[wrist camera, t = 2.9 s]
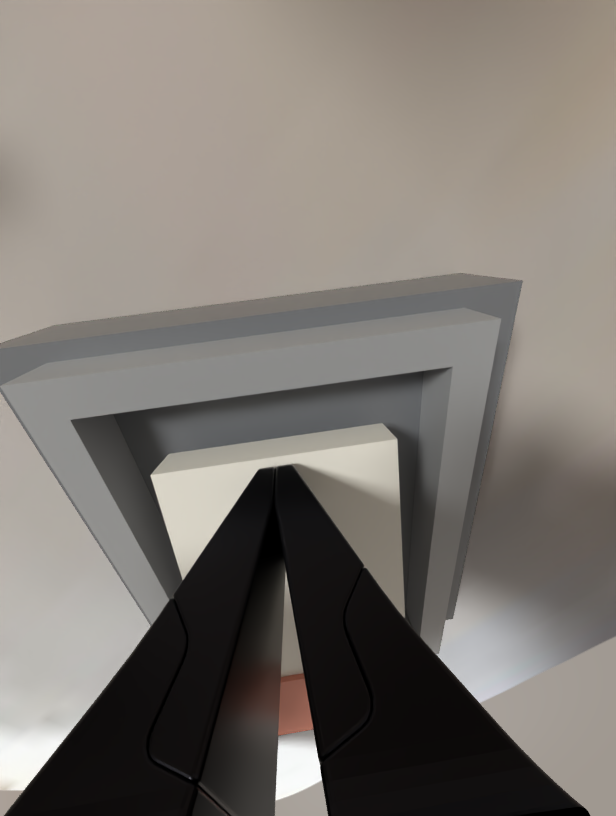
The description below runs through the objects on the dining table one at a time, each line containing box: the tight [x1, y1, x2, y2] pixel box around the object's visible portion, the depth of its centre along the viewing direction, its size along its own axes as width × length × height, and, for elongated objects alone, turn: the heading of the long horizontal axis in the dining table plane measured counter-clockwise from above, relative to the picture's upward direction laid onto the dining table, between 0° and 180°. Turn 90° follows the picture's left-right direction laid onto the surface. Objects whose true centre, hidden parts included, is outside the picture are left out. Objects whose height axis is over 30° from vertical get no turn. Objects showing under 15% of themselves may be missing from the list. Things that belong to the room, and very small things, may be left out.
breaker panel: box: [0, 273, 522, 654], centre depth 12 cm, size 16×14×4 cm
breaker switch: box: [150, 423, 405, 736], centre depth 9 cm, size 10×6×1 cm, turn 6°
